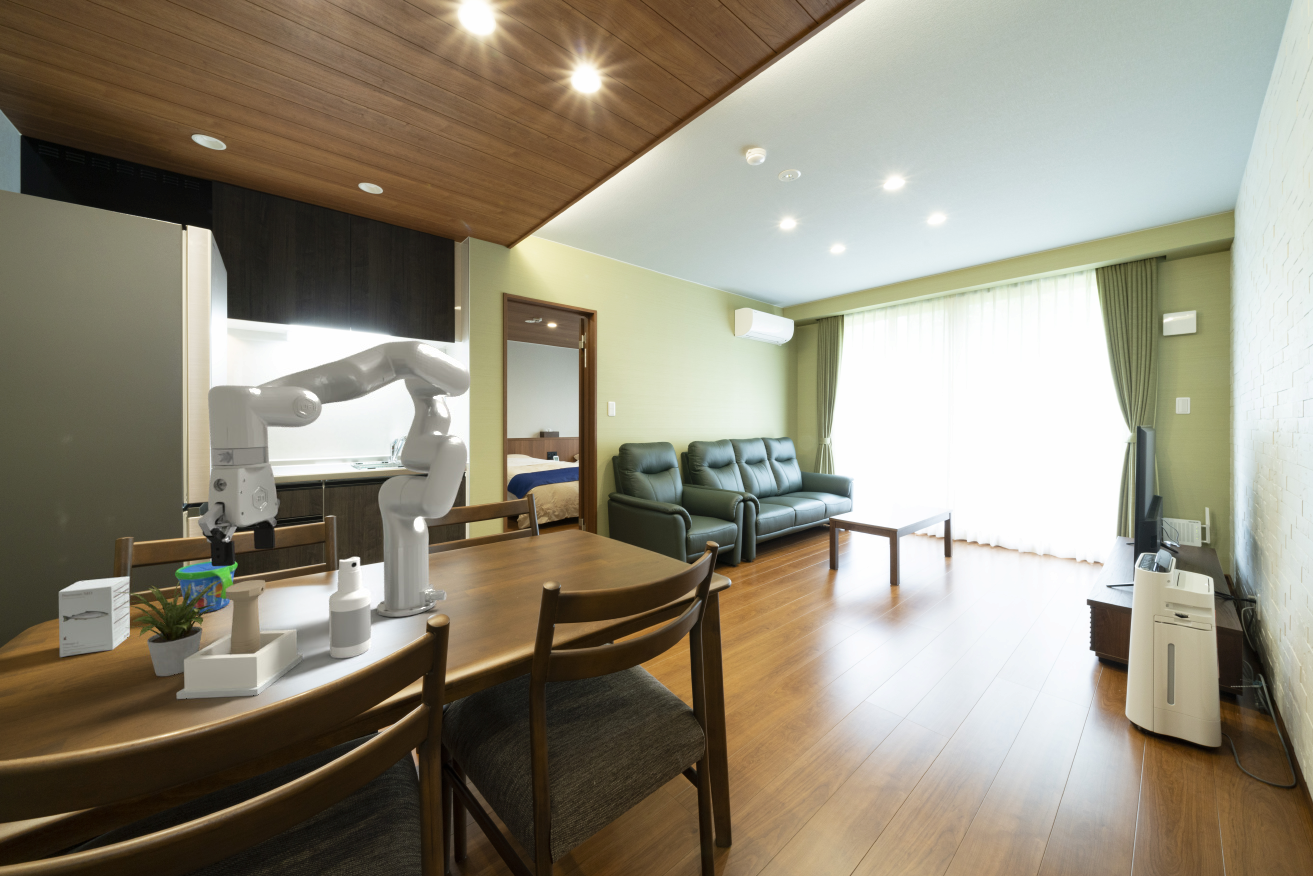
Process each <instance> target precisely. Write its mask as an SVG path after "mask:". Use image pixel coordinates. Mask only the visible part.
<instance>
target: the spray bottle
mask: <svg viewBox="0 0 1313 876" xmlns="http://www.w3.org/2000/svg"><path fill="white" fill-rule="evenodd" d="M338 563H339V564H338V565H339V566H338V571H337V590H336V591H335V592H334V593H332V594H331V595H330V596H329V599H328V605H329V607H328V608H329V609H328V611H329V612H328V614H329V615H328V617H329V620H328V621H329V622H328V623H329V625H328V627H329V655H330V656H331V657H332V658H335V659H347V658H353V657H357V656H359V655H362V654H364V653H366V652H368V651H369V650H370V648H371V647H372V633H371V631H372V629H371V627H372V625H371V622H372V621H371V613H372V612H371V591H370V589H368V588H365V587H363V579H362V567H361V557H359V556H351V557H349V558H345V559H339V561H338Z"/></svg>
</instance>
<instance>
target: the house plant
mask: <svg viewBox="0 0 1313 876" xmlns="http://www.w3.org/2000/svg"><path fill="white" fill-rule="evenodd" d="M183 577H184V576H183ZM183 577H182V578H183ZM182 578H181V579H182ZM181 579H180V580H181ZM219 581H220V580H219ZM219 581H216V582H214V583H212V584H211V585H209V586H208V587H206V588H205V589H204V590H203V591H202V592H201V593H200V594H199V595H198V596H196V597H195V598H194V599H192V600H191V601H190V602H189V603H188V605H187V601H188V599H189V597H190V593H191V583H190V584H189V586H188V585H187V586H188V589H187V591H186V593H185V596H184V600H183V599H182V600H183V601H182V603H180V604H178V600H179V597H180V595H181V593H182V590H183V589H182V590H181V589H180V591H179V592H178V593H177V590H178V586H179V585H180V581H179V580H178V582H177V584H176V587H175V590H174V594H173V601H168V600H167V598H166V597H165V596H164V595H163V593H162V591H161V590H160V589H159V588H158V587H156V586H154V585H150V586H151V587H153V588H154V589H153V588H151V587H148V589H149V590H150V591H151V594H153V595H154V596H155V599H156V600H157V601H158V602H159V604H160V605H161V607H162V609H163V612H164V613H162V612H161V610H159V609H158V607H156V606H155V605H153V603H150V602H149V601H148V600H147V599H146V598H144V597H143V596H141V595H139V594H138V593H134V592H129V595H133V596H135V597H137V598H139V599H140V600H132V601H130V603H134V602H135V603H140V604H143V605H145V606H146V607H148V608H150V609H152V611H154V612H155V614H157V616H158V617H160V618H161V620H162V621H163V622H162V621H158V620H157V618H155V616H153V615H152V614H151V613H149V612H148V611H147V610H146V609H144V608H142V607H139V606H131V605H130V608H135V609H138V610H140V611H142V612H143V613H144V614H146V615H143V616H140V617H137V618H136V619H134V620H133V621H132V622H133V623H136V622H142V623H140V625H138V628H139V627H140V628H141V629H140V633H139V638H140V637H141V636H142V635H143V634H145V633H147V632H148V631H150V632H152V633H154V635H152V636H151V637H149V638H148V639H147V640H146V643H147V646H148V650H149V654H150V657H151V662H152V665H153V669H154V672H155V675H156V676H157V677H169V676H174V674H175V675H178V673H179V674H181V673H182V674H183V673H184V659H186V658H188V657H189V656H191V655H193V654H195V653H196V652H198V651H200V645H201V640H202V639H201V638H202V634H203V628H202V627H201V626H202V624H203V623H204V618H203V617H202V616H203V615H205V613H208V612H207V611H209V610H212V609H208V610H206V611H204V612H202V613H199V612H200V610H202V609H204V608H207V607H209V606H213V605H208V606H203V607H200V608H197V609H196V608H194V609H193V607H194V606H195V604H196V603H197V602H198V601H199V600H200V598H201V597H202V596H203V595H204V594H205V593H207V591H208V590H209V589H210V588H211V587H212V586H213V585H214V584H216V583H217V582H219ZM187 586H186V587H187ZM117 593H128V592H117ZM125 603H127V602H125ZM121 604H122V603H121ZM186 605H187V606H186ZM215 605H217V604H215ZM124 608H126V607H124ZM120 609H121V608H120ZM192 609H193V610H192ZM191 610H192V611H191ZM198 613H199V615H198ZM195 623H198V624H199V625H200V626H194V625H195ZM142 624H149V625H145V626H142ZM133 627H134V625H132V626H131V625H130V628H133ZM127 628H128V627H127ZM153 628H155V629H157V630H158V631H159V632H158V631H156V630H154V629H153Z"/></svg>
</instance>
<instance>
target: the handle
mask: <svg viewBox="0 0 1313 876" xmlns="http://www.w3.org/2000/svg"><path fill="white" fill-rule="evenodd" d="M265 590H266V581H265V579H264V580H263V579H252V580H246V581H241V582H237V583H233V585H231V586H230V587H228V588H226V598H227V599H229V600H230V601H233V603H232V604H233V607H232V620H231V621H232V622H231V632H230V633H231V655H232V654H254V653H256V652H257V651H259V648H260V647H259V646H260V631H261V628H260V616H259V597H260V596H261V595H262V594H264V592H265Z"/></svg>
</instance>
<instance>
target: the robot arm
mask: <svg viewBox="0 0 1313 876" xmlns="http://www.w3.org/2000/svg"><path fill="white" fill-rule="evenodd" d="M399 380H404V385H405V388H406V390H407V392H408V393H409V395H410V397H411V399H412V403H413V405H414V406H413V407H414V415H413V416H414V417H413V419H412V422H411V425H410V428H409V431H408V433H407V436H406V439H405V441H404V444H403V447H402V450H401V454H400V463H401V465H402V467H404V468H405V470H408V471H410V472H414V473H415V472H416V473H425V474H427V475H426V476H420V475H403V474H402V475H397V476H393V477H389V479H386V481H384V482H383V483H382V485H381V487H380V489H379V492H378V506H379V510H380V515H381V520H382V528H383V580H384V581H383V583H384V585H383V586H384V587H383V589H384V591H383V593H384V594H383V595H384V596H383V597H384V598H383V601H381V602H379V604H377V606H376V613H377V614H379V615H380V616H382V617H388V618H389V617H390V618H396V617H397V618H398V617H408V616H412V615H418V614H421V613H425V612H426V611H429V610H430V609H432V608H434V606H435V605H436V603H437V601H438V602H439V601H446V600H447V596H448V595H447V591H445V589H437V590H436V589H434V584H433V583H430V580H429V579H430V578H429V574H430V573H429V567H430V566H429V565H430V564H429V562H430V561H429V541H430V540H429V538H430V537H429V529H428V525H427V522H426V519H439V518H443V517H444V516H446V515H447V514H448V513H449V512H450V511H451V509H452V508H453V506H454V503H455V500H456V498H457V495H458V491H459V488H460V485H461V483H462V479H463V477H464V474H465V470H466V466H467V462H468V451H467V446H466V444H465V442H464V441H463V440H462V438H460V437H458V436H457V435H452V434H448V433H449V430H450V427H451V422H452V419H451V412H450V410H449V408H448V406H447V404H446V401H445V400H444V398H448V397H449V398H451V397H452V398H453V397H459V396H462V395H464V394H465V393H467V391H469V388H470V387H471V375H470V373H469V371H468V369H467V367H465V365H464V364H463V363H462V362H460V361H459V360H457V359H455V358H454V357H451V356H450V355H448V354H446V353H444V352H443V351H441V350H439V349H437V348H436V347H434V346H431V344H430V345H429V344H427V343H425V342H422V341H420V340H406V341H405V340H404V341H402V340H401V341H392V342H391V341H390V342H384V343H381V344H378V345H376V346H372V347H371V348H367V349H365V350H363V351H359V352H357V353H354V354H352V355H349V356H346V357H343V358H340V359H338V360H334V361H331V362H328V363H324V364H320V365H318V366H315V367H312V368H308V369H304V370H301V371H297V372H294V373H293V372H292V373H290V374H287V375H284V376H281V377H278V378H275V379H272V380H270V381H267V382H264V383H262V384H259V385H257V386H253V385H227V384H226V385H215V386H212V387H211V388H210V389H209V391H208V394H207V400H208V402H207V403H208V404H207V405H208V421H209V422H208V423H209V439H210V440H209V441H210V442H209V443H210V459H211V460H210V461H211V462H210V463H211V470H210V475H209V484H208V486H209V487H208V504H207V505H208V506H207V507H208V510H207V511H206V513H204V514H203V515H202V516H201V517H200V518H199V519H198V520H197V521H198V522H197V524H198V526H199V527H200V529H201V531H202V535H203V536H204V538H206V542H207V543H210V557H211V558H210V559H211V560H210V561H211V563H212V566H232V565H234V564H235V561H236V552H235V551H236V550H235V547H236V546H235V540H232V538H233V535H234V534H235V532H236V529H237V528H246V527H249V526H253V525H256V526H255V527H253V542H254V543H253V545H254V549H256V550H272V549H275V547H276V536H275V535H276V534H275V533H276V532H275V527H276V525H277V520H276V519H277V517H278V515H279V511H278V510H279V507H280V504H281V499H279V498H277V497H278V496H277V489H276V487H277V486H276V481H275V476H274V472H273V469H272V466H271V463H270V458H269V435H268V428H269V427H270V428H271V427H272V428H275V427H276V428H301V427H305V426H308V425H311V424H312V423H314V422H315V421H316V420H318V419H319V417H320V416H321V412H322V409H323V406H322V405H326V404H332V403H334V404H335V403H341V402H348V401H352V400H356V399H360V398H363V397H365V396H367V395H370V394H372V393H373V392H374V393H375V392H376V391H377V390H380V389H382V388H384V387H386V386H389V385H390V384H392V383H395V382H397V381H399ZM222 530H225V531H222Z"/></svg>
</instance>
